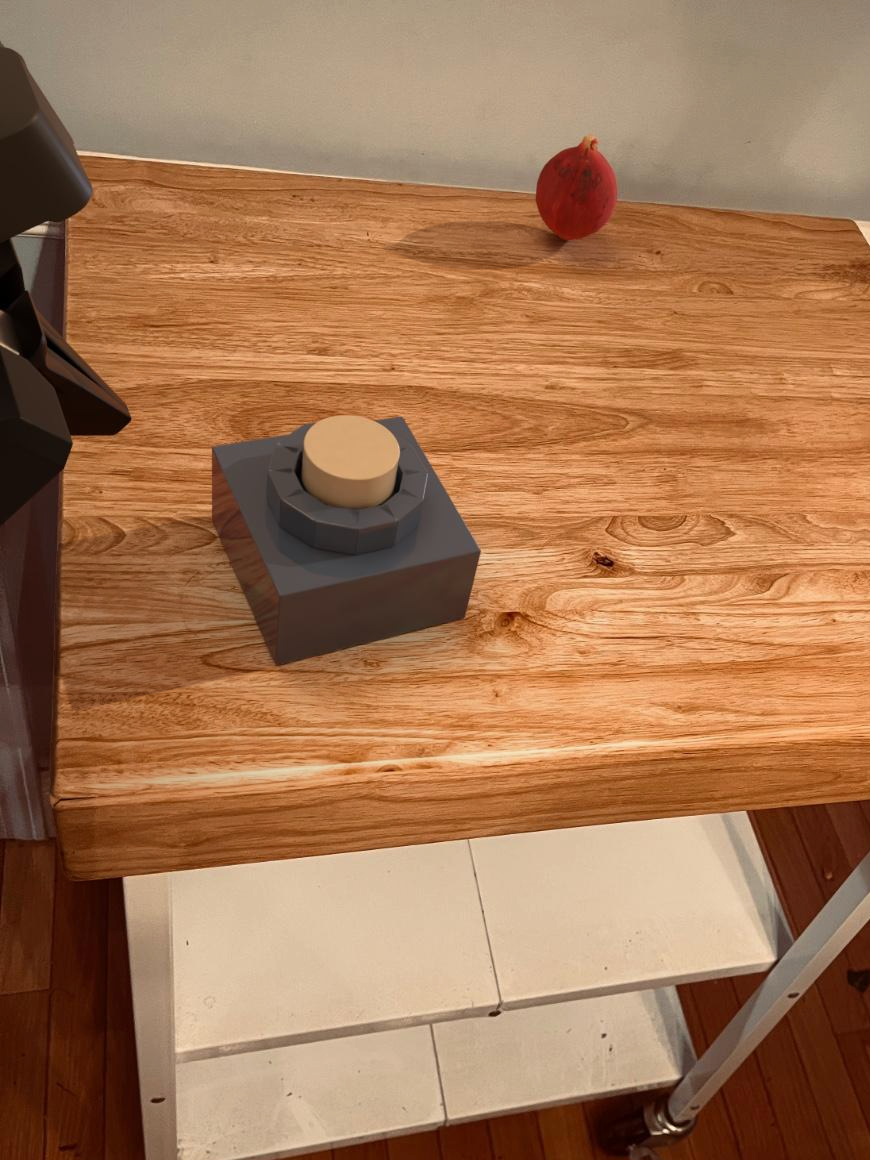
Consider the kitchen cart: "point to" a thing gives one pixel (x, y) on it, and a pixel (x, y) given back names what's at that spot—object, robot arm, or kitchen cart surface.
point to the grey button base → (339, 549)
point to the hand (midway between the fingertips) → (122, 421)
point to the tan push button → (349, 462)
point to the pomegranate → (577, 191)
